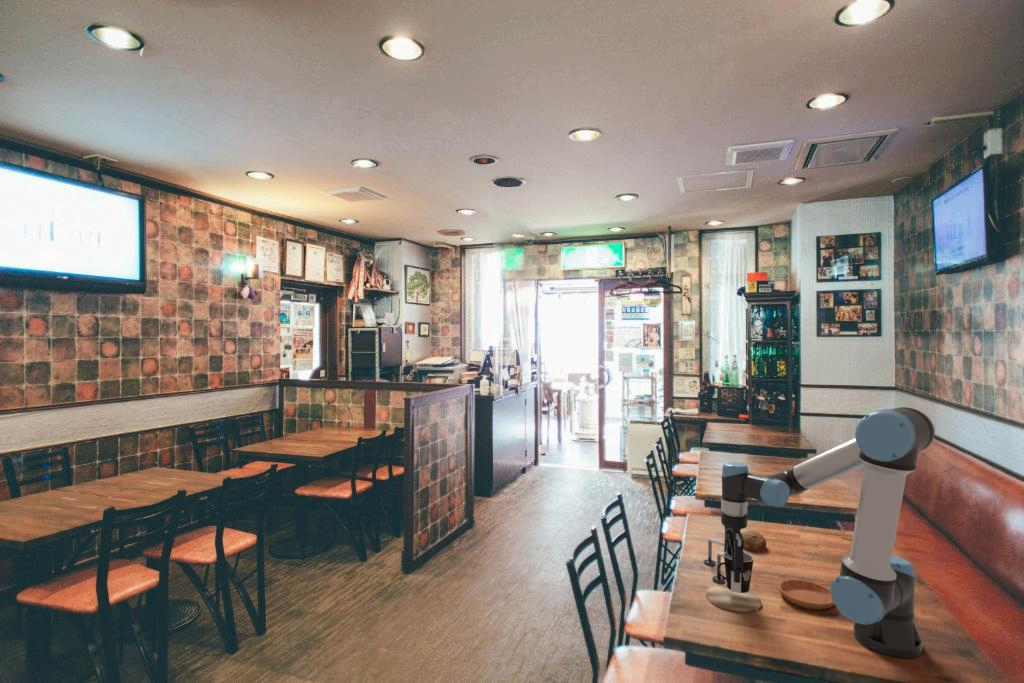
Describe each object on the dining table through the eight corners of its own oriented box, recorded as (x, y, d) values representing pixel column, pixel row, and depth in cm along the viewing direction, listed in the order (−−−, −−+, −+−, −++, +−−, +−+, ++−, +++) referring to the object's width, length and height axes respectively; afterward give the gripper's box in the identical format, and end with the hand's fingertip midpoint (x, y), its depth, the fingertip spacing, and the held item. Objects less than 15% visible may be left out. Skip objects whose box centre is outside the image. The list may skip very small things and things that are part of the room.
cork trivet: (768, 614, 159) (768, 612, 159) (712, 610, 161) (712, 607, 161) (752, 589, 175) (752, 587, 175) (701, 585, 177) (701, 583, 177)
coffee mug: (747, 582, 172) (748, 551, 171) (757, 595, 163) (757, 562, 163) (710, 580, 173) (710, 549, 173) (717, 593, 164) (718, 560, 164)
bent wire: (751, 585, 177) (752, 558, 177) (713, 582, 179) (714, 555, 179) (737, 562, 195) (737, 538, 195) (703, 560, 197) (703, 536, 197)
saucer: (820, 618, 157) (820, 608, 157) (768, 596, 171) (768, 587, 171) (846, 604, 166) (846, 594, 166) (795, 584, 179) (795, 575, 179)
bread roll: (736, 552, 215) (729, 534, 214) (755, 538, 217) (748, 521, 216) (754, 562, 205) (747, 544, 204) (774, 547, 208) (767, 530, 207)
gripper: (756, 524, 158) (754, 602, 158) (738, 504, 177) (737, 573, 177) (729, 522, 159) (728, 600, 159) (714, 502, 178) (713, 571, 178)
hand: (733, 586), depth 168 cm, fingers closed on coffee mug, 6 cm apart
